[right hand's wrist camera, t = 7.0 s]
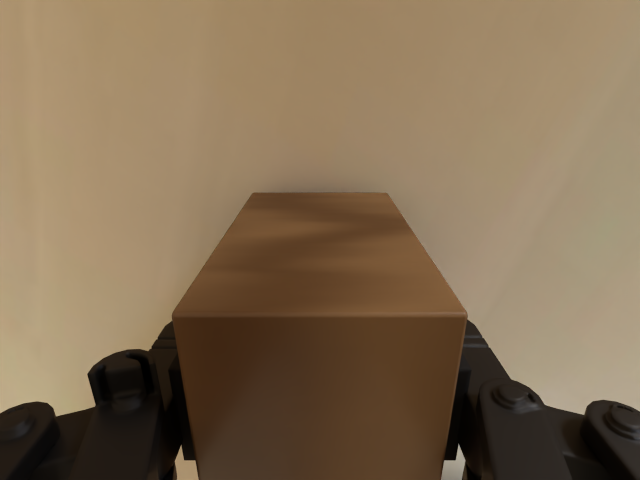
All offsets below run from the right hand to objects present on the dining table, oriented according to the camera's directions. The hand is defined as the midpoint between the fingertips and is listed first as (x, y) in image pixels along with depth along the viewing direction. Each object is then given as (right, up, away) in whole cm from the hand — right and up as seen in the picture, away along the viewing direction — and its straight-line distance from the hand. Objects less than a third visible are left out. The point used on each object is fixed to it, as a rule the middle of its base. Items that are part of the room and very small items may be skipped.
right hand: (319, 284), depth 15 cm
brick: (0, 0, +1) cm, 1 cm away
